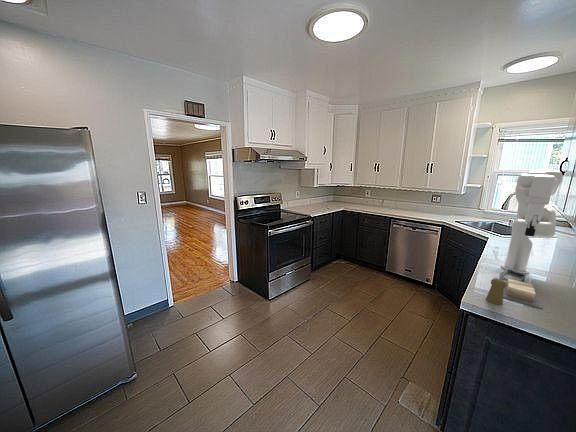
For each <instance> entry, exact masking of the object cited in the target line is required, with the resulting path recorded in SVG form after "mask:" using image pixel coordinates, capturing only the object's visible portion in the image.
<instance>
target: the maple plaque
mask: <svg viewBox="0 0 576 432" xmlns="http://www.w3.org/2000/svg"><path fill="white" fill-rule="evenodd" d="M507 279H508V280H506V282H507V285H506V288H507V295H510V296H513V297H517V298H520V299H524V300H528V301H531V302H533V301H534V298H535V290H534V289H535V287H534V285H533V284H532V283H528V282H525V281H524V282H522V280H521V281H519V280H516V279H512V278H507Z"/></svg>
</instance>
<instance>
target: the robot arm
mask: <svg viewBox="0 0 576 432" xmlns="http://www.w3.org/2000/svg"><path fill="white" fill-rule="evenodd" d="M563 179H564V178H563V173H562V171H560V170H559V169H558V170H557V169H534V170H530V171H529V172H523V173H520V174H519V176H517V179H516V186H515V189H514V190H515V192H514V194H515V198H516V201H517V204H518V205H517V210H516V218H517V219H515V220H514V221H513V222H512V224H511V236H510V241H509V246H508V250H507V254H506V258H505V262H503V263H501V264H500V267H501V268H502V269H504V270H505V271H506V270H507V269H509V270H512V271H514V272H516V273H519V274H524V275H526V274H529V273H530V270H529V269H528V268H527V267H528V263H529V261H530V260H529V259H530V255H531V251H532V248H533V242H532V240H531V239H530V238H529V237H532V238H538V239H545V240H546V239H547V240H548V239H549V240H550V239H552V238H553V237H554V236H555V234H556V230H557V228H556V225H557V212H556V211H555V210H554V209H553V208H549V207H545V206H546V205H548V206H549V205H550V200H551V196H553V195H555V194H556V193H557V190H558V189H559V187H560V185H561V183H562V181H563Z"/></svg>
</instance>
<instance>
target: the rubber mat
mask: <svg viewBox="0 0 576 432" xmlns="http://www.w3.org/2000/svg"><path fill="white" fill-rule="evenodd" d="M505 282H506V285H507V281H505ZM534 290H535V298H534V301H533V302H531V301H528V300H524V299H520V298H517V297H513V296H510V295H507V288H506V287H505V288H504V289H503V299H505V300H509V301H512V302H515V301H516V302H515V303H520V304H523V305H526V306H530V307H533V308H535V309H536V308H537V309H540V310H543V306H542V302H541V300H540V296H539V293H538V291H537V288H534Z"/></svg>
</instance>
